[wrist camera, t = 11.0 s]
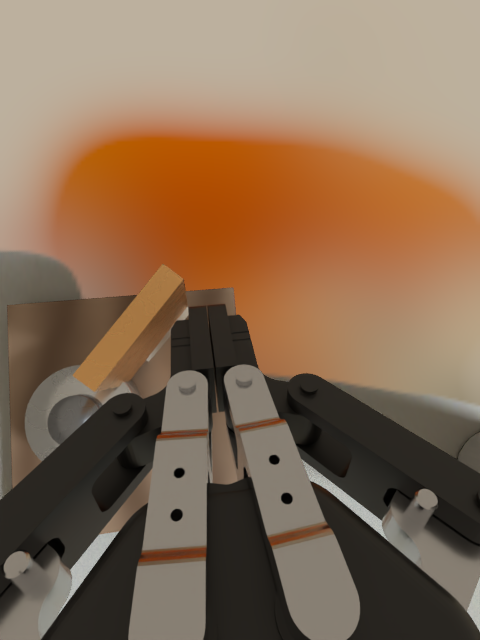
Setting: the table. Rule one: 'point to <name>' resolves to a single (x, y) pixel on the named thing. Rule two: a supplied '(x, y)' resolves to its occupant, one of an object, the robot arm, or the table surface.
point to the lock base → (72, 349)
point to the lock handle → (105, 365)
